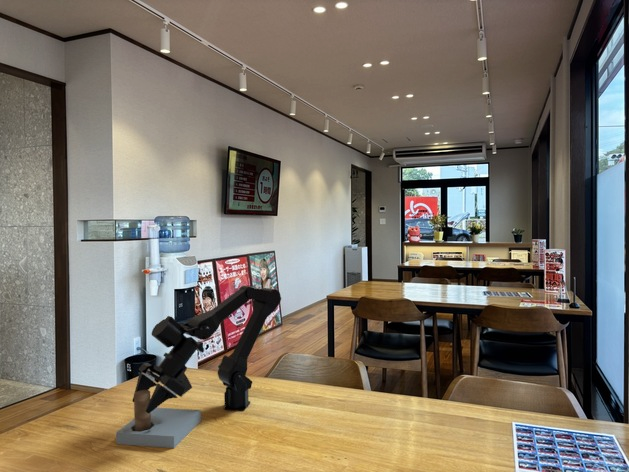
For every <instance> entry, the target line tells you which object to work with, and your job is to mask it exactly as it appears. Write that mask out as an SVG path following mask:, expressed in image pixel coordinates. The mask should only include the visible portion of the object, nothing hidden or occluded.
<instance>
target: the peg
mask: <svg viewBox="0 0 629 472" xmlns="http://www.w3.org/2000/svg"><path fill="white" fill-rule="evenodd" d="M133 397H134V402H133V406H134V408H133V411H134V413H133V415H134V419H135V431H139V432H141V431H145V430H149V429H151V412H150V413H147V412H146V408H147V406H148V404H149V401H150V399H151V391H150V389H149V390H141V391H137V392H135V391H134V393H133Z"/></svg>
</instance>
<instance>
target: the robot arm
mask: <svg viewBox="0 0 629 472" xmlns="http://www.w3.org/2000/svg"><path fill="white" fill-rule="evenodd" d="M250 300H253V302H252V303H253V305H252V306H253V307H252V308H253V309H252V313H251V315H250V317H249V319H248V321H247V324H246V325H245V327H244V329H243V332H242V333H241V335H240V338H238V339H239V340H238V342H237V343H236V346H235V347H234V350H233V352H232V353H231V354H230V355H223V357H222V359H221V361H220V363H219V365H218V366H217V368H218V370H217V376H218V377H217V378H218V379H219V380H220V381H221V382H222V385H223V386H226V388H225V392H224V393H223V396H224V397H223V398H224V399H223V400H224V406H225V407H224V408H223V410H224V411H236V412H244V411H246V409H247V408H248V407H249V406H250V405H251V401H250V400H249V390H250V389H252V385H253V381H252V380H251V379H250V378H249V377H248V376H247V375H246V374H247V371H248V358H249V356H250V354H251V352H252V350H253V348H254V346H255V343H256V342H257V340H258V338H259V336H260V333H261V331H262V329H263V327H264V324H266V323H265V322H266V321H267V319H268V317H269V316H271V314H273V313H274V312H275V311H276V309H277V308H278V307H279V305H280V303H281V301H282V297H281V292H280V291H279V290H277V289H275V288H270V287H261V288H257V287H253V286H251V285H242V286H240V287H239V288H238V289H237V290H236V291H235V292H233V293H232V294H231V295H230V296H228V297H227V298H226V299H224V300H223V301H221V302H220V303H218V304H217V305H216V306H214V308H212V309H211V310H209V311H208V310H207V311H205V312H202V313H200V314H198V315H195V316H194V317H192V318H190V320H188V322H185V323H181V324H179V323H178V322H177V320H176V319H174V317H172V316H171V315H168V316H166V318H165V319H162V320H160V322H158V323H157V324H156V325H155V326H154V327H152V330H151V336H152V337H154V338H155V339H156V340H157V341H158V342H160V343H161V344H162V345H163V346H165V348H171V347H172V348H171V349H170V351H169V352H165V353H163V357H164V358H163V360H162V361H161V362H160V363H159V365H157V364H156V365H154V366H153V364H150V363H149V362H144V363H142V364H141V365H140V367H139V368H138V370H139V372H138V377H137V382H136V386H135V390H134V393H135V392H137V391H141V390H149V391H150V389H151V388H154V387H155V388H154V391H153V393H152V395H151V396H150V401H149V404H148V406H147V408H146V412H147V413H150V412H152V411H153V410H154V409H155V408H159V406H160V405H162V404H163V403H165V402H166V401H167V400H170V399H178V398H179V397H180V398H182V397H183V396H184V395H185V394H186V393H188V392H189V391H190V390H192V389H193V386H192V384H191V381H190V380H189V378H188V377H187V375H186V374H185V372H186V371H187V370H188V369H187V368H188V367H187V366H186V364H187V363H188V362H189V361H190V359H191V358H192V356H193V355H194V354H195V353H196V351H198V352H200V353H204V352H205V349H204V342H202V341H203V340H204V341H206V340H208V339H210V338H211V337H212V336H213V335H214V334H215V333H216V332H217V331H218V330H219V327H220V325H221V324H222V322H223V321H225V320H226V319H227V318H228V317H230V316H231V315H232V314H234V313H235V312H237V310H239V309H240V308H242V306H243V305H245V304H246V303H247V302H249V301H250ZM186 335H187V336H188V337H187V336H186ZM194 338H195V339H199V341H197V340H195V339H194ZM200 340H202V341H200ZM161 384H162V385H161ZM132 403H134V396H133V397H132Z"/></svg>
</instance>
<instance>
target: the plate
mask: <svg viewBox="0 0 629 472" xmlns="http://www.w3.org/2000/svg"><path fill="white" fill-rule="evenodd" d="M201 421H202V409H188V408H170V407H157V408H155V409H154V410H153V411H152V412H151V429H149V430H145V431H141V432H139V431H135V418H133V419H132V420H131V421H129V422H128V423H126V424H125V425H124V426H123V427H121V428H120V429H118V431H116V432H115V439H116V440H115V441H116V443H115V444H116V445H127V446H128V445H129V446H141V447H151V448H152V447H154V448H166V449H167V448H168V449H175V448H176V447H177V446H178V445H179V444H180V443H181V442H182V440H184V439H185V437H187V436H188V435H189V433H191V432H192V431H193V430H194V429H195V427H197V426H198V424H199V423H200V422H201Z"/></svg>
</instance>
